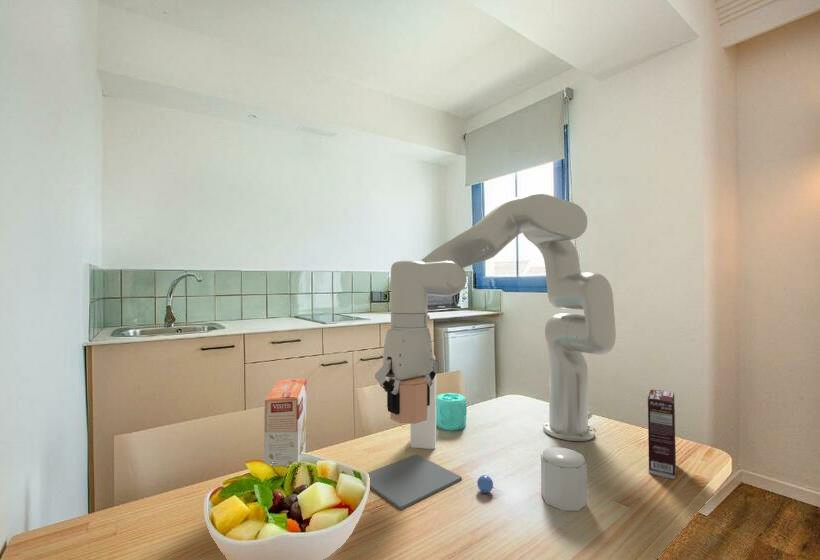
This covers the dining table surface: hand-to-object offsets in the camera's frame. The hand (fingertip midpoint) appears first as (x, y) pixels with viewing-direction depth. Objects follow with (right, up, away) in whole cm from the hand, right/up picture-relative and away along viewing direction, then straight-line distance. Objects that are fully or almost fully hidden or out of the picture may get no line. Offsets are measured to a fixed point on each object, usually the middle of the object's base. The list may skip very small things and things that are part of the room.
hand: (409, 407), depth 78 cm
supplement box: (+54, -15, +4) cm, 56 cm away
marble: (+15, -15, -5) cm, 21 cm away
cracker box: (-22, -15, -7) cm, 28 cm away
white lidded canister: (+29, -15, -7) cm, 33 cm away
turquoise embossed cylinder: (+12, -15, +30) cm, 35 cm away
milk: (+4, -15, +17) cm, 23 cm away
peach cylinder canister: (0, -2, 0) cm, 2 cm away
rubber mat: (0, -15, 0) cm, 15 cm away
